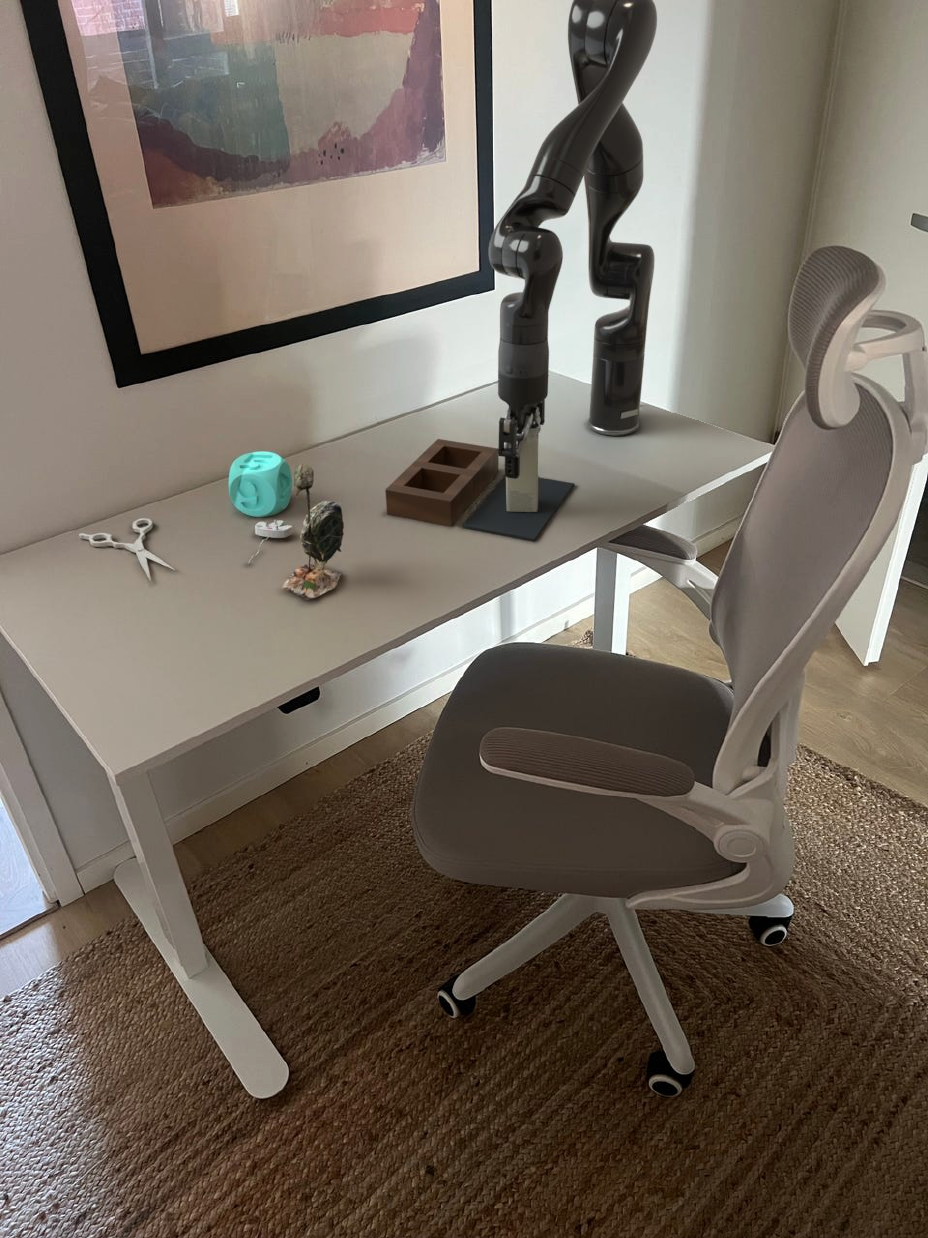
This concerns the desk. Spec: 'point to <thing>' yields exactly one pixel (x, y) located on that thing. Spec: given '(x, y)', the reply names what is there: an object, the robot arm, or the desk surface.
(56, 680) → the desk surface
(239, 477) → the decorative dice
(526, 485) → the box
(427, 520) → the rack
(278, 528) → the game controller
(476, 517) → the mat
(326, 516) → the plant with pod
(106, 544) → the scissors
